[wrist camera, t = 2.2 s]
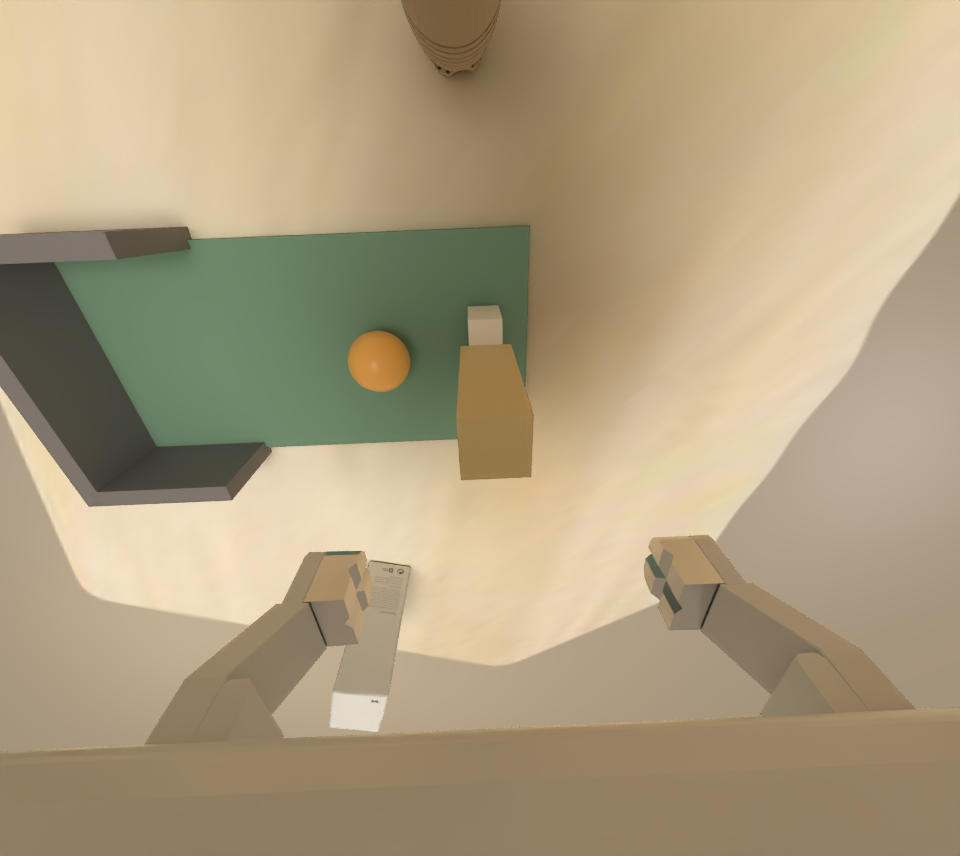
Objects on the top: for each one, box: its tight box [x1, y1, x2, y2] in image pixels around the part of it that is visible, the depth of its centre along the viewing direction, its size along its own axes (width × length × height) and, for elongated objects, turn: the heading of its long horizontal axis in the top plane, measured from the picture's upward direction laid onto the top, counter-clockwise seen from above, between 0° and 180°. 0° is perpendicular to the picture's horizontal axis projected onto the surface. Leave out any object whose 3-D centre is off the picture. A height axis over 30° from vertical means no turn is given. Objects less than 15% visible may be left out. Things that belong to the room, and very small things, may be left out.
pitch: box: [54, 226, 530, 447], centre depth 27 cm, size 15×31×1 cm, turn 92°
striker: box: [456, 305, 534, 480], centre depth 21 cm, size 6×3×13 cm, turn 2°
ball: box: [348, 331, 410, 392], centre depth 25 cm, size 4×4×4 cm
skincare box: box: [329, 561, 410, 732], centre depth 34 cm, size 6×4×12 cm
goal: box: [0, 227, 271, 507], centre depth 24 cm, size 16×10×6 cm, turn 2°
